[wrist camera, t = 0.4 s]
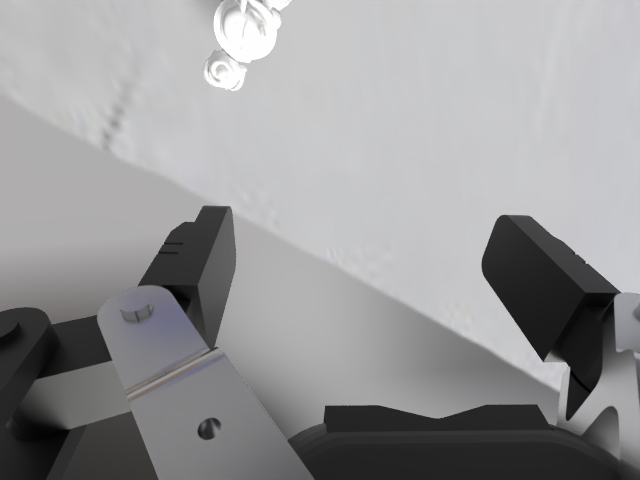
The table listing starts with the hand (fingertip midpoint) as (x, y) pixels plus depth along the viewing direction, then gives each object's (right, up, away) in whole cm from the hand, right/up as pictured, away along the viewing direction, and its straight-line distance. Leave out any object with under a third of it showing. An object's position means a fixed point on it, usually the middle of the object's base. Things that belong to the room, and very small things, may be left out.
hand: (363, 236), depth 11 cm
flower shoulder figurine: (-7, +19, +21) cm, 29 cm away
